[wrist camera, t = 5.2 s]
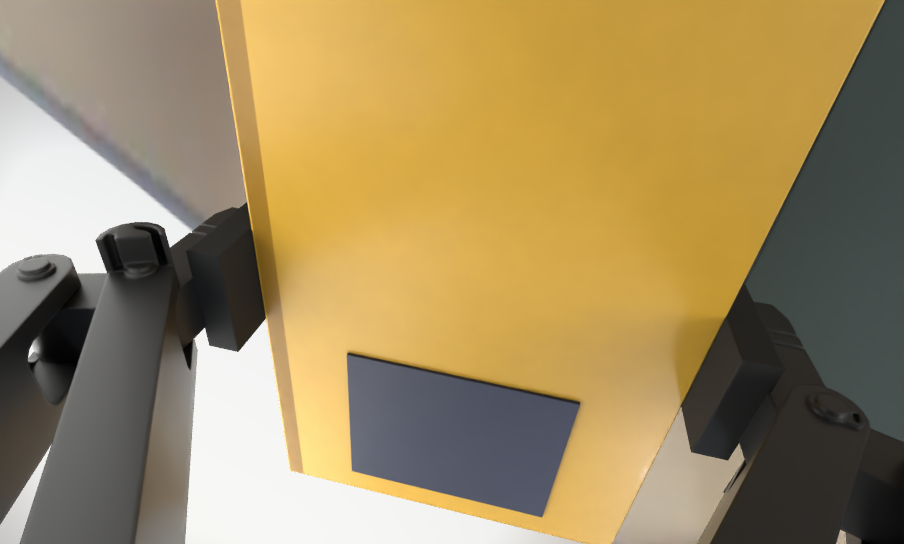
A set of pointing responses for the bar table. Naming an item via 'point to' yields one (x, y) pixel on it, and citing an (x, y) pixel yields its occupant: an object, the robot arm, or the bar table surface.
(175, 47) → the bar table surface
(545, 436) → the yellow box with panel
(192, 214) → the bar table surface
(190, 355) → the robot arm
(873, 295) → the desk mat
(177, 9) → the bar table surface
